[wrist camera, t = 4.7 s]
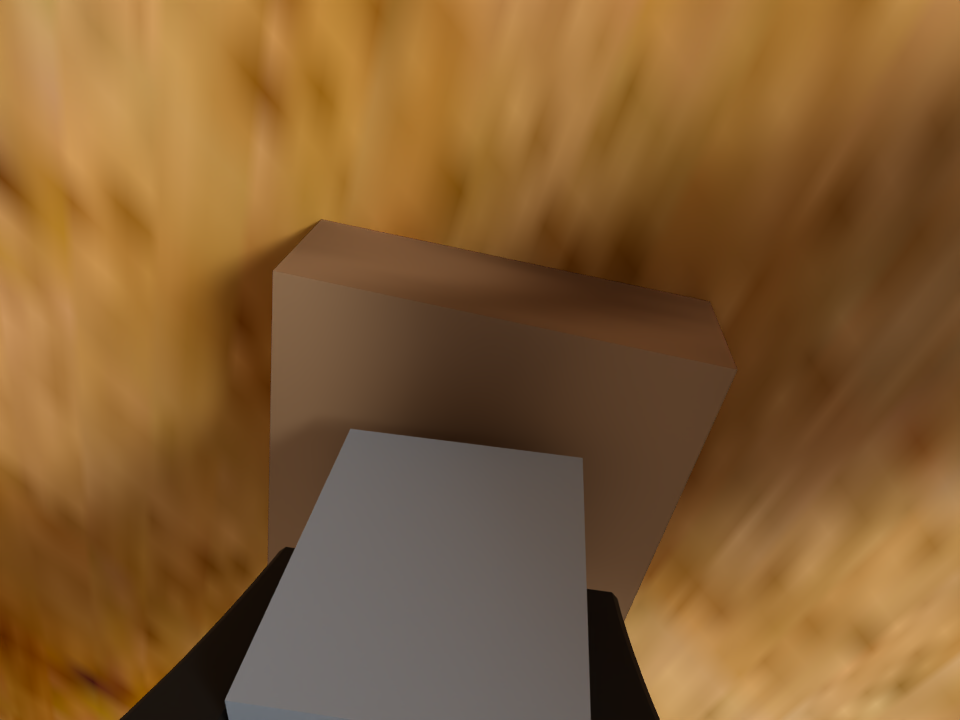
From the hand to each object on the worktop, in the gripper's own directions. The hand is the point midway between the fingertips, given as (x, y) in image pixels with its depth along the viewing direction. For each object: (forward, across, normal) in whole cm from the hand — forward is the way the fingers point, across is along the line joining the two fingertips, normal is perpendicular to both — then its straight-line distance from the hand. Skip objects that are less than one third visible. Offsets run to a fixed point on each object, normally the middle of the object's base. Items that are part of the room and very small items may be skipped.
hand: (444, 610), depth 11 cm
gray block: (+2, 0, 0) cm, 2 cm away
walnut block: (+6, 0, 0) cm, 6 cm away
